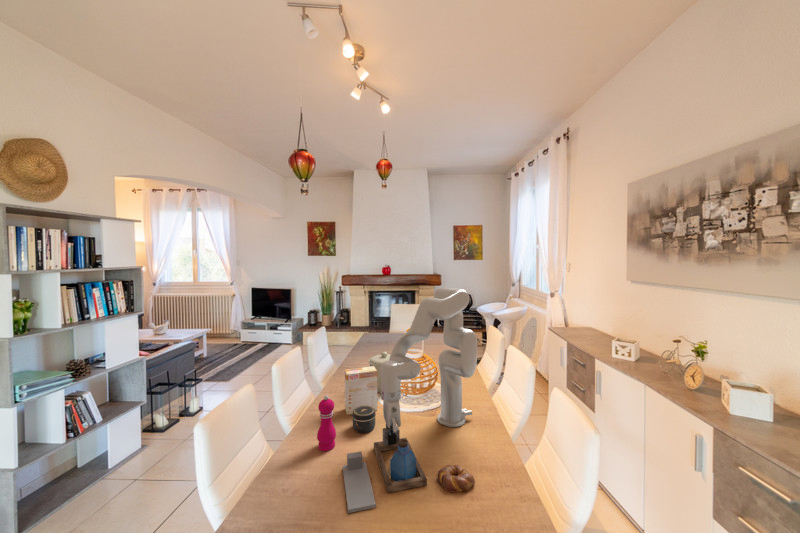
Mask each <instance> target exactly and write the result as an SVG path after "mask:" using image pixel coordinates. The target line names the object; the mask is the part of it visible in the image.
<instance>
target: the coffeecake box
mask: <svg viewBox="0 0 800 533" xmlns="http://www.w3.org/2000/svg"><path fill="white" fill-rule="evenodd" d="M359 406H371V407H373V408H374V409H375V411H378V392H377V370H376V369H375V367H374V366H371V367H370V366H365V367H355V368H349V369H348V368H347V369H344V409H345V413H346V415H347V416H349V415H352V413H353V410H354V409H355V408H357V407H359Z"/></svg>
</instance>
